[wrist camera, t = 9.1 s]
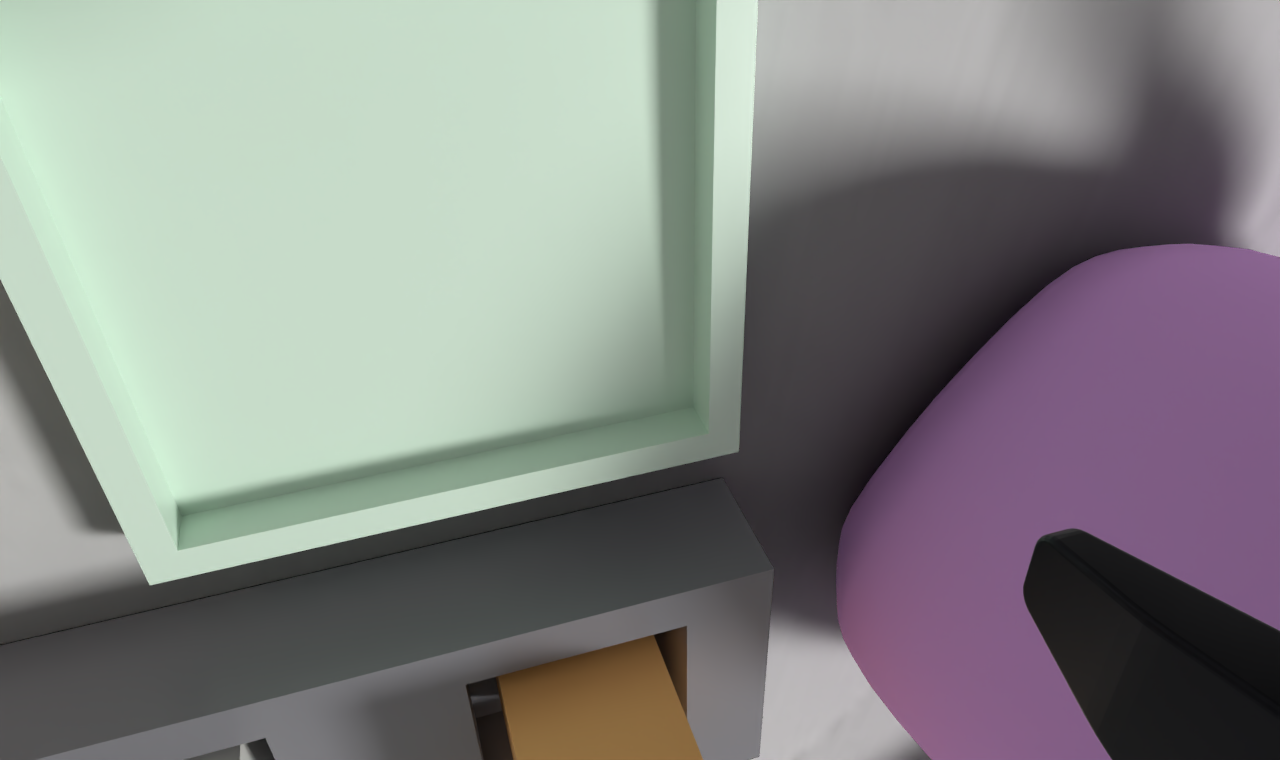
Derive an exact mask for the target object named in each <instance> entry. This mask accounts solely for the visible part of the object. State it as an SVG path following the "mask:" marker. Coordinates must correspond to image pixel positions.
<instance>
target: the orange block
mask: <svg viewBox="0 0 1280 760" xmlns="http://www.w3.org/2000/svg"><path fill="white" fill-rule="evenodd" d="M496 682H497V687H498V692H499V697H500V702H501V707H502V711H503V716H504V720H505V725H506V729H507V734H508V739H509V743H510V748H511V752H512V757H513V760H703V758H702V756H701V753H700V750H699V748H698V745H697V743H696V740H695V738H694V735H693V733H692V730H691V728H690V725H689V723H688V720H687V718H686V715H685V713H684V710H683V708H682V705H681V703H680V700H679V698H678V695H677V692H676V690H675V687H674V685H673V682H672V680H671V677H670V675H669V672H668V670H667V667H666V665H665V662H664V660H663V657H662V655H661V652H660V650H659V647H658V645H657V642H656V640H655V637H654V635H650V636H647V637H643V638H639V639H635V640H632V641H628V642H624V643H620V644H617V645H613V646H609V647H605V648H602V649H598V650H594V651H590V652H587V653H583V654H579V655H575V656H572V657H568V658H564V659H560V660H557V661H553V662H549V663H545V664H542V665H538V666H534V667H530V668H527V669H523V670H519V671H515V672H512V673H508V674H504V675H500V676H497V677H496Z"/></svg>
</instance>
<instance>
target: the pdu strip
mask: <svg viewBox="0 0 1280 760" xmlns="http://www.w3.org/2000/svg"><path fill="white" fill-rule="evenodd" d="M773 577H774V568H773V566H772V565H771V563H770V561H769V559H768V557H767V556H766V554H765V552H764V550H763V549H762V547H761V545H760V543H759V542H758V540H757V538H756V536H755V534H754V533H753V531H752V529H751V527H750V526H749V524H748V522H747V520H746V518H745V517H744V515H743V513H742V511H741V510H740V508H739V506H738V504H737V502H736V501H735V499H734V497H733V495H732V494H731V492H730V490H729V488H728V487H727V485H726V483H725V481H724V479H723V478H720V479H715V480H711V481H707V482H702V483H698V484H694V485H690V486H685V487H681V488H677V489H672V490H668V491H664V492H659V493H655V494H651V495H646V496H642V497H638V498H634V499H629V500H625V501H621V502H616V503H612V504H608V505H603V506H599V507H595V508H591V509H586V510H582V511H578V512H573V513H569V514H565V515H560V516H556V517H552V518H547V519H543V520H539V521H535V522H530V523H526V524H522V525H517V526H513V527H509V528H504V529H500V530H496V531H492V532H487V533H483V534H479V535H474V536H470V537H466V538H461V539H457V540H453V541H448V542H444V543H440V544H436V545H431V546H427V547H423V548H418V549H414V550H410V551H405V552H401V553H397V554H392V555H388V556H384V557H380V558H375V559H371V560H367V561H362V562H358V563H354V564H349V565H345V566H341V567H337V568H332V569H328V570H324V571H319V572H315V573H311V574H306V575H302V576H298V577H293V578H289V579H285V580H281V581H276V582H272V583H268V584H263V585H259V586H255V587H250V588H246V589H242V590H238V591H233V592H229V593H225V594H220V595H216V596H212V597H207V598H203V599H199V600H194V601H190V602H186V603H182V604H177V605H173V606H169V607H164V608H160V609H156V610H151V611H147V612H143V613H139V614H134V615H130V616H126V617H121V618H117V619H113V620H108V621H104V622H100V623H95V624H91V625H87V626H83V627H78V628H74V629H70V630H65V631H61V632H57V633H52V634H48V635H44V636H39V637H35V638H31V639H27V640H22V641H18V642H14V643H9V644H5V645H1V646H0V760H185V759H189V758H192V757H196V756H200V755H204V754H207V753H211V752H215V751H219V750H222V749H226V748H230V747H234V746H237V745H241V744H245V743H249V742H252V741H256V740H260V739H264V738H266V741H267V743H268V745H269V747H270V750H271V752H272V754H273V756H274V759H275V760H513V757H512V752H511V748H510V743H509V739H508V734H507V729H506V725H505V720H504V716H503V711H502V707H501V702H500V697H499V692H498V687H497V682H496V677H497V676H500V675H504V674H508V673H512V672H515V671H519V670H523V669H527V668H530V667H534V666H538V665H542V664H545V663H549V662H553V661H557V660H560V659H564V658H568V657H572V656H575V655H579V654H583V653H587V652H590V651H594V650H598V649H602V648H605V647H609V646H613V645H617V644H620V643H624V642H628V641H632V640H635V639H639V638H643V637H647V636H650V635H654V637H655V640H656V642H657V645H658V647H659V650H660V652H661V655H662V657H663V660H664V662H665V665H666V667H667V670H668V672H669V675H670V677H671V680H672V682H673V685H674V687H675V690H676V692H677V695H678V698H679V700H680V703H681V705H682V708H683V710H684V713H685V715H686V718H687V720H688V723H689V725H690V728H691V730H692V733H693V735H694V738H695V740H696V743H697V745H698V748H699V750H700V753H701V756H702V758H703V760H750V759H753V758H757V757H759V754H760V741H761V729H762V716H763V703H764V691H765V678H766V665H767V653H768V640H769V627H770V615H771V602H772V589H773Z"/></svg>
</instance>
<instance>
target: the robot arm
mask: <svg viewBox="0 0 1280 760" xmlns="http://www.w3.org/2000/svg"><path fill="white" fill-rule="evenodd" d="M1023 595H1024V601H1025V604H1026V606H1027V609H1028V611H1029V613H1030V615H1031V617H1032V618H1033V620H1034V622H1035V624H1036V626H1037V628H1038V630H1039V632H1040V633H1041V635H1042V637H1043V639H1044V641H1045V643H1046V645H1047V646H1048V648H1049V650H1050V652H1051V654H1052V656H1053V658H1054V660H1055V661H1056V663H1057V665H1058V667H1059V669H1060V671H1061V673H1062V674H1063V676H1064V678H1065V680H1066V682H1067V684H1068V686H1069V688H1070V689H1071V691H1072V693H1073V695H1074V697H1075V699H1076V701H1077V702H1078V704H1079V706H1080V708H1081V710H1082V712H1083V714H1084V715H1085V717H1086V719H1087V721H1088V722H1089V724H1090V726H1091V728H1092V729H1093V731H1094V733H1095V735H1096V736H1097V738H1098V739H1099V741H1100V742H1101V744H1102V745H1103V747H1104V749H1105V750H1106V752H1107V753H1108V755H1109V756H1110V758H1111V759H1112V760H1280V630H1278V629H1276V628H1274V627H1272V626H1270V625H1268V624H1266V623H1264V622H1262V621H1260V620H1258V619H1256V618H1254V617H1252V616H1251V615H1249V614H1247V613H1245V612H1243V611H1241V610H1239V609H1237V608H1235V607H1233V606H1231V605H1229V604H1227V603H1225V602H1223V601H1221V600H1219V599H1217V598H1215V597H1213V596H1211V595H1209V594H1207V593H1205V592H1203V591H1202V590H1200V589H1198V588H1196V587H1194V586H1192V585H1190V584H1188V583H1186V582H1184V581H1182V580H1180V579H1178V578H1176V577H1174V576H1172V575H1170V574H1168V573H1166V572H1164V571H1162V570H1160V569H1158V568H1156V567H1154V566H1152V565H1151V564H1149V563H1147V562H1145V561H1143V560H1141V559H1139V558H1137V557H1135V556H1133V555H1131V554H1129V553H1127V552H1125V551H1123V550H1121V549H1119V548H1117V547H1115V546H1113V545H1111V544H1109V543H1107V542H1105V541H1103V540H1101V539H1100V538H1098V537H1096V536H1094V535H1092V534H1090V533H1088V532H1086V531H1083V530H1080V529H1076V528H1070V529H1065V530H1061V531H1057V532H1054V533H1050V534H1046V535H1043V536H1042V537H1041V538H1039V539H1038V541H1037V542H1036V545H1035V548H1034V551H1033V554H1032V558H1031V561H1030V564H1029V568H1028V571H1027V574H1026V577H1025V581H1024V585H1023Z"/></svg>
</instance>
